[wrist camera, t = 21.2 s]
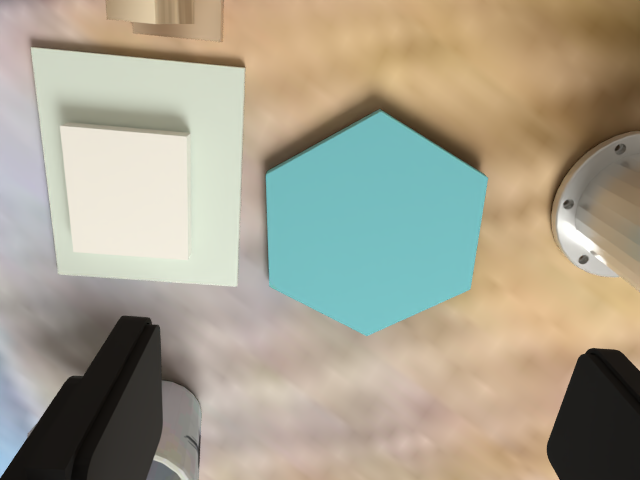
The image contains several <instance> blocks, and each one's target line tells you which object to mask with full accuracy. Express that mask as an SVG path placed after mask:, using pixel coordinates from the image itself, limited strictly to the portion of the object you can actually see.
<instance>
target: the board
mask: <svg viewBox="0 0 640 480" xmlns="http://www.w3.org/2000/svg"><path fill="white" fill-rule="evenodd" d="M31 54H32V63H33V71H34V79H35V87H36V95H37V103H38V112H39V120H40V128H41V136H42V144H43V153H44V161H45V169H46V177H47V185H48V194H49V202H50V210H51V218H52V226H53V234H54V243H55V251H56V259H57V267H58V274H60V275H74V276H89V277H104V278H118V279H133V280H147V281H162V282H177V283H191V284H206V285H220V286H235V287H237V285H238V265H239V236H240V208H241V180H242V152H243V123H244V95H245V67H235V66H225V65H215V64H204V63H194V62H184V61H174V60H163V59H153V58H143V57H133V56H122V55H112V54H102V53H91V52H81V51H71V50H61V49H50V48H40V47H31ZM67 122H71V123H83V124H94V125H106V126H117V127H129V128H140V129H152V130H164V131H175V132H187V133H191V240H192V253H191V255H190V257H189V259H188V260H179V259H165V258H150V257H136V256H122V255H108V254H93V253H79V252H73V243H72V234H71V225H70V216H69V206H68V197H67V188H66V179H65V170H64V160H63V151H62V142H61V133H60V125H63V124H65V123H67Z"/></svg>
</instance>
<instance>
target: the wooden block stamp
mask: <svg viewBox="0 0 640 480" xmlns="http://www.w3.org/2000/svg"><path fill="white" fill-rule="evenodd" d="M223 8H224V0H106V13H107V19H110V20H120V21H129V22H132V23H133V33H135V34H145V35H155V36H165V37H175V38H185V39H195V40H205V41H215V42H223Z"/></svg>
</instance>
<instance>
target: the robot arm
mask: <svg viewBox="0 0 640 480" xmlns="http://www.w3.org/2000/svg"><path fill="white" fill-rule="evenodd" d="M551 222H552V232H553V235H554V238H555V242H556V243H557V245H558V247H559V249H560V250H561V252H562V253H563V254H564V255H565V256H566V257H567V258H568V259H569V260H570V261H571V262H572V263H573V264H574V265H575V266H577V267H578V268H580V269H582V270H584V271H586V272H588V273H590V274H594V275H598V276H601V277H621V278H622V279H624V280H625V281H626V282H627V283H629V284H630V285H631V286H632V287H634V288H635V289H636V290H637V291H639V292H640V131H632V132H628V133H624V134H621V135H617V136H615V137H612V138H610V139H608V140H606V141H604V142H602V143H600V144H599V145H597V146H596V147H594V148H593V149H591V150H590V151H588V152H587V153H586V154H585V155H584V156H583V157H582V158H581V159H579V160H578V161H577V162H576V163H575V164H574V166H573V167H572V168H571V169H570V171H569V172H568V173H567V175H566V176H565V177H564V179H563V181H562V183H561V185H560V187H559V188H558V191H557V193H556V196H555V199H554V202H553V208H552V215H551ZM162 428H163V406H162V374H161V341H160V327H159V325H152V322H151V319H150V318H148V317H134V316H122V317H121V318H120V319H119V321H118V322H117V324H116V325H115V327H114V329H113V330H112V332H111V333H110V335H109V336H108V338H107V340H106V341H105V343H104V344H103V346H102V347H101V349H100V351H99V352H98V354H97V355H96V357H95V359H94V360H93V362H92V363H91V365H90V366H89V368H88V370H87V371H86V373H85V374H84V376H72V377H69V378H68V379H67V381H66V382H65V383H64V384H63V386H62V387H61V389H60V390H59V392H58V393H57V395H56V396H55V398H54V399H53V401H52V402H51V404H50V405H49V407H48V408H47V410H46V411H45V413H44V414H43V416H42V417H41V419H40V420H39V422H38V423H37V425H36V426H35V427H34V429H33V430H32V432H31V433H30V435H29V436H28V438H27V439H26V441H25V442H24V444H23V445H22V447H21V448H20V450H19V451H18V453H17V454H16V456H15V457H14V459H13V460H12V462H11V463H10V465H9V466H8V468H7V469H6V471H5V472H4V474H3V475H2V476H1V478H0V480H146V479H147V476H148V473H149V470H150V467H151V464H152V462H153V459H154V456H155V453H156V450H157V447H158V444H159V442H160V438H161V434H162ZM547 455H548V459H549V461H550V463H551V465H552V467H553V468H554V470H555V472H556V474H557V476H558V477H559V479H560V480H640V371H639V370H638V369H637V368H636V367H635V366H634V365H633V364H632V363H631V362H630V361H629V360H628V358H627V357H626V356H625V355H624V354H623V353H621V352H620V351H618V350H612V349H597V348H591V349H589V350H588V351H587V352H586V353H585V354H582V355H581V356H580V357H579V358H578V360H577V363H576V366H575V369H574V371H573V374H572V377H571V380H570V382H569V385H568V388H567V391H566V393H565V396H564V399H563V402H562V405H561V407H560V410H559V413H558V416H557V418H556V421H555V424H554V427H553V429H552V432H551V435H550V438H549V440H548V444H547Z"/></svg>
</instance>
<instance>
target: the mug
mask: <svg viewBox="0 0 640 480" xmlns="http://www.w3.org/2000/svg"><path fill="white" fill-rule="evenodd" d="M162 406H163V428H162V434H161V438H160V442H159V444H158V447H157V450H156V453H155V456H154V459H153V462H152V464H151V467H150V470H149V473H148V476H147V479H146V480H199V461H200V439H201V418H202V413H201V409H200V405H199V402H198V401H197V399H196V398H195V396H194V395H193V394H192V393H191V392H190V391H189V390H187V389H186V388H185V387H183V386H181V385H179V384H176V383H174V382H170V381H163V380H162ZM36 425H37V424H36ZM36 425H35V426H36ZM35 426H34V427H35ZM34 427H33V428H32V430H33V429H34ZM32 430H31V431H30V432H29V433H28V436H29V435H30V433H31V432H32ZM27 438H28V437H27Z"/></svg>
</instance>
